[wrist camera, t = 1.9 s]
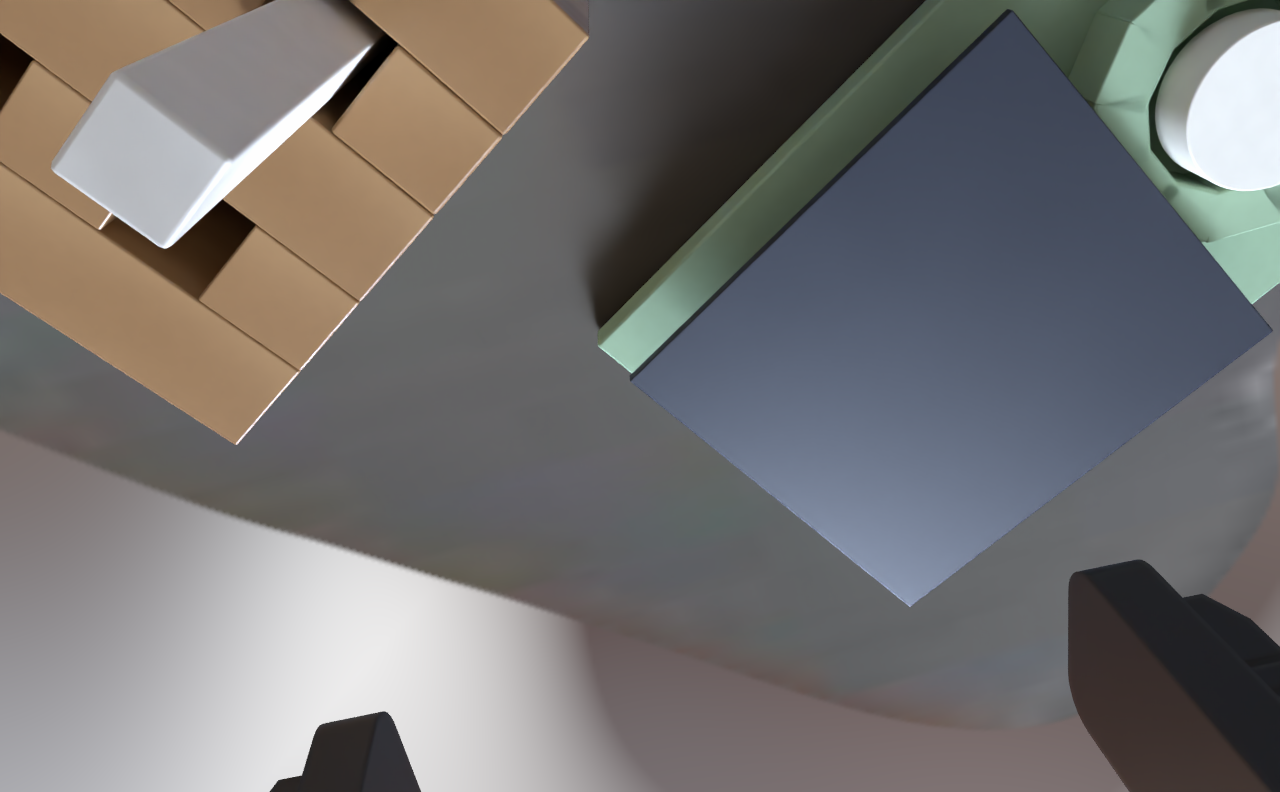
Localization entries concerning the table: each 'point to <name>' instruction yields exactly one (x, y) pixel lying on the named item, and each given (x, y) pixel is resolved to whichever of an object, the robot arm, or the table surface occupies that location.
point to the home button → (1226, 102)
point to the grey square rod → (212, 111)
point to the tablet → (899, 71)
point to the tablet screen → (956, 322)
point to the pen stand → (253, 188)
